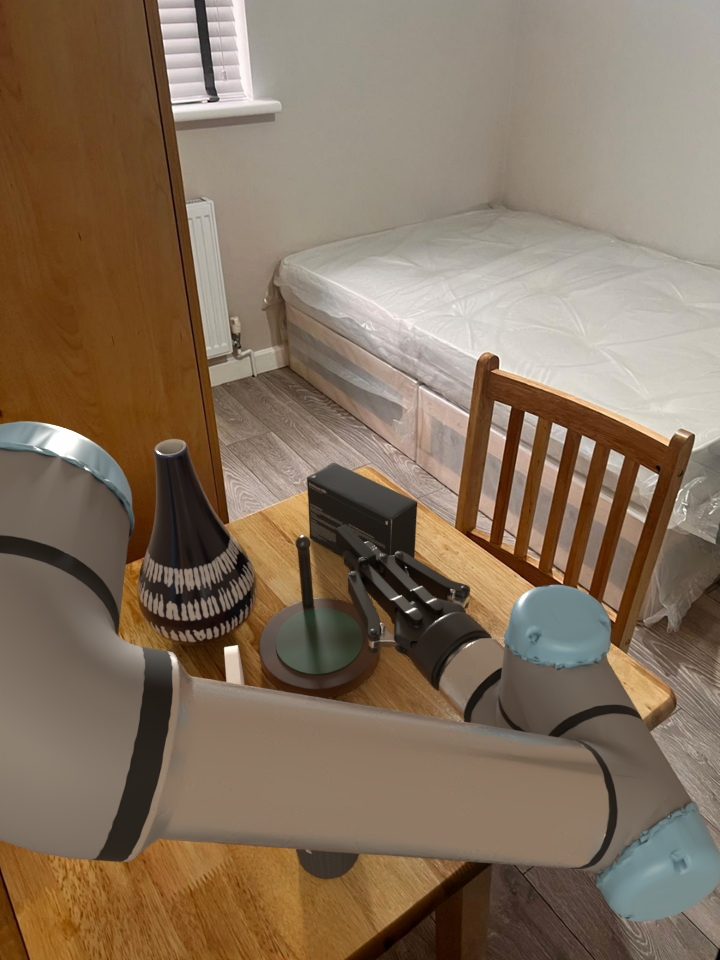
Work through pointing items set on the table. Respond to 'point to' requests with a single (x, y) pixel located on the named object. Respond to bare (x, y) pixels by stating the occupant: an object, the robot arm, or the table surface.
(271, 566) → the table surface
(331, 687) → the paper towel holder
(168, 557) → the vase
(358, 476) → the box
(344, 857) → the coffee cup
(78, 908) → the table surface
